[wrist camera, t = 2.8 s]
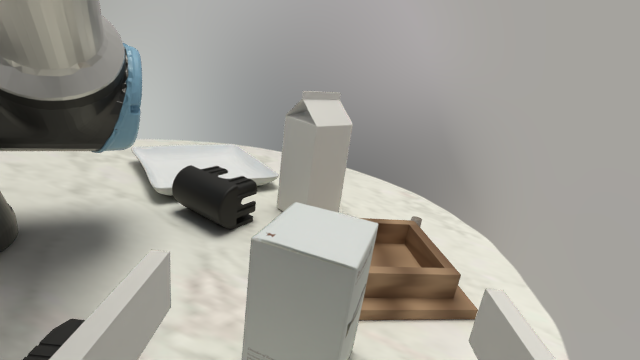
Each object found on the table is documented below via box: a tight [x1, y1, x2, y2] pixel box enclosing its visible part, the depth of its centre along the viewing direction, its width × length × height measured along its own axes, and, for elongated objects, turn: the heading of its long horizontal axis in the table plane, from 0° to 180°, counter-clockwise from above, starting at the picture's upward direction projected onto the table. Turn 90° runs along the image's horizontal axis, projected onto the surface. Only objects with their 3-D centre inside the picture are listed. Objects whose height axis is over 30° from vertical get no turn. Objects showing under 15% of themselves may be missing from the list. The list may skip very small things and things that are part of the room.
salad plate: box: [131, 144, 279, 195], centre depth 66 cm, size 21×21×3 cm
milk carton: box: [277, 91, 353, 213], centre depth 54 cm, size 7×7×19 cm
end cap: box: [172, 165, 257, 230], centre depth 50 cm, size 10×7×7 cm
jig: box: [359, 217, 478, 320], centre depth 43 cm, size 16×16×4 cm
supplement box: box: [242, 202, 379, 360], centre depth 27 cm, size 7×7×13 cm
